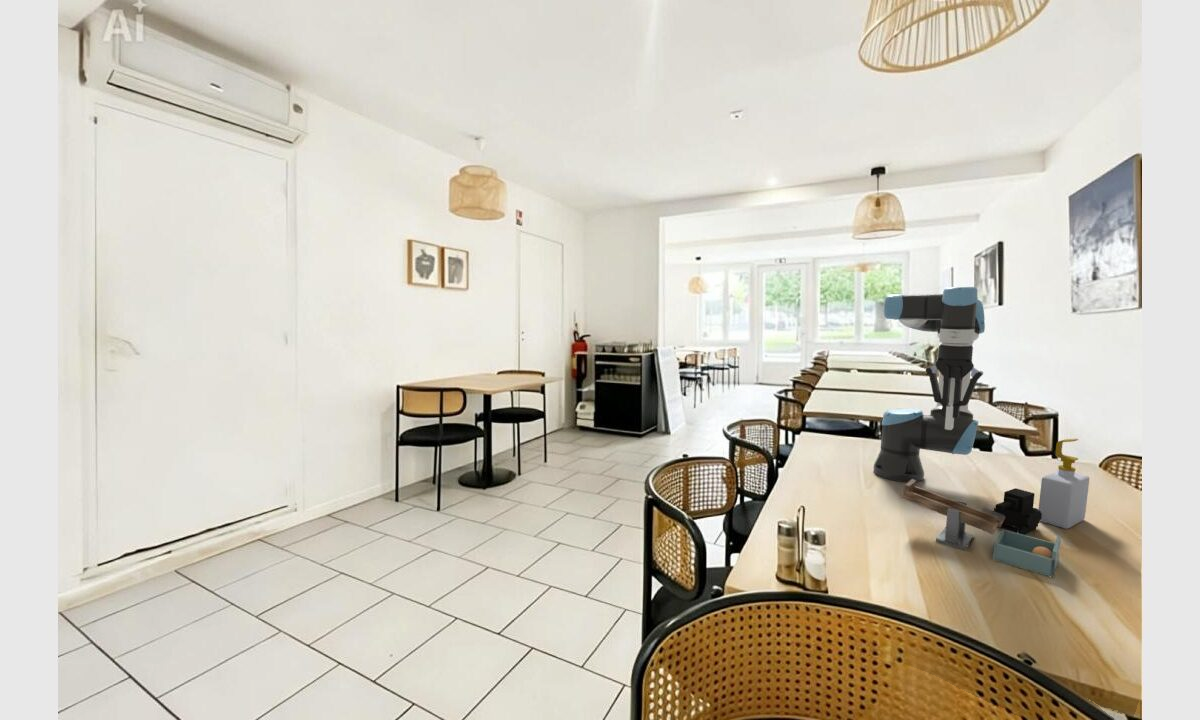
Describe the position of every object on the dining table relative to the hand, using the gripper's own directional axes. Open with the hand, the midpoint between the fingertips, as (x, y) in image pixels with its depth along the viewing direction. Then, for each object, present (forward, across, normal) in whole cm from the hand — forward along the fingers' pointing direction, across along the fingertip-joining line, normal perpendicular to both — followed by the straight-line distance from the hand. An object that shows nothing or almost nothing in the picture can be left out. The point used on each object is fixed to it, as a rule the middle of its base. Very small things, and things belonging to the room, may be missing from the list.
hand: (948, 428), depth 136 cm
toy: (+26, +15, +2) cm, 30 cm away
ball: (+23, +22, -15) cm, 35 cm away
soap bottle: (+26, +24, +19) cm, 40 cm away
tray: (+25, +19, -15) cm, 35 cm away
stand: (+25, +6, -15) cm, 30 cm away
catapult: (+18, +4, -11) cm, 22 cm away
